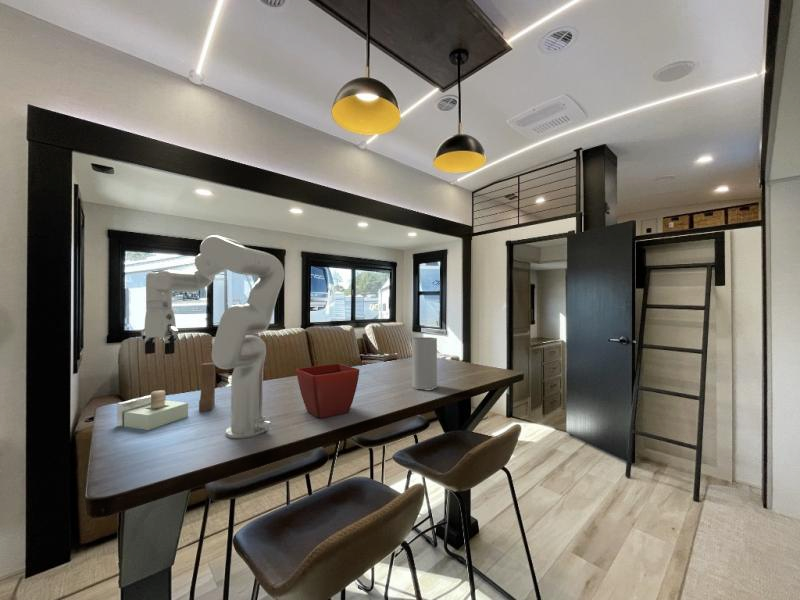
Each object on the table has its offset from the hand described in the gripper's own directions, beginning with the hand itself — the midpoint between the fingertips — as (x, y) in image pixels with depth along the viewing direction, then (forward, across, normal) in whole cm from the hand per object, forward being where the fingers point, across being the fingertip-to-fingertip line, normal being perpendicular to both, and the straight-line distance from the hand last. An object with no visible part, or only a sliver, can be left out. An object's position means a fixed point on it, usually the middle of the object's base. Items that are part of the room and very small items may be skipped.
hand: (159, 353), depth 117 cm
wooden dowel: (+24, +1, 0) cm, 24 cm away
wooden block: (+25, -3, -17) cm, 30 cm away
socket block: (+24, +1, 0) cm, 24 cm away
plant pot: (+26, -52, -28) cm, 64 cm away
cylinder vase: (+27, -80, -76) cm, 113 cm away
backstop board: (+24, +9, 0) cm, 26 cm away
